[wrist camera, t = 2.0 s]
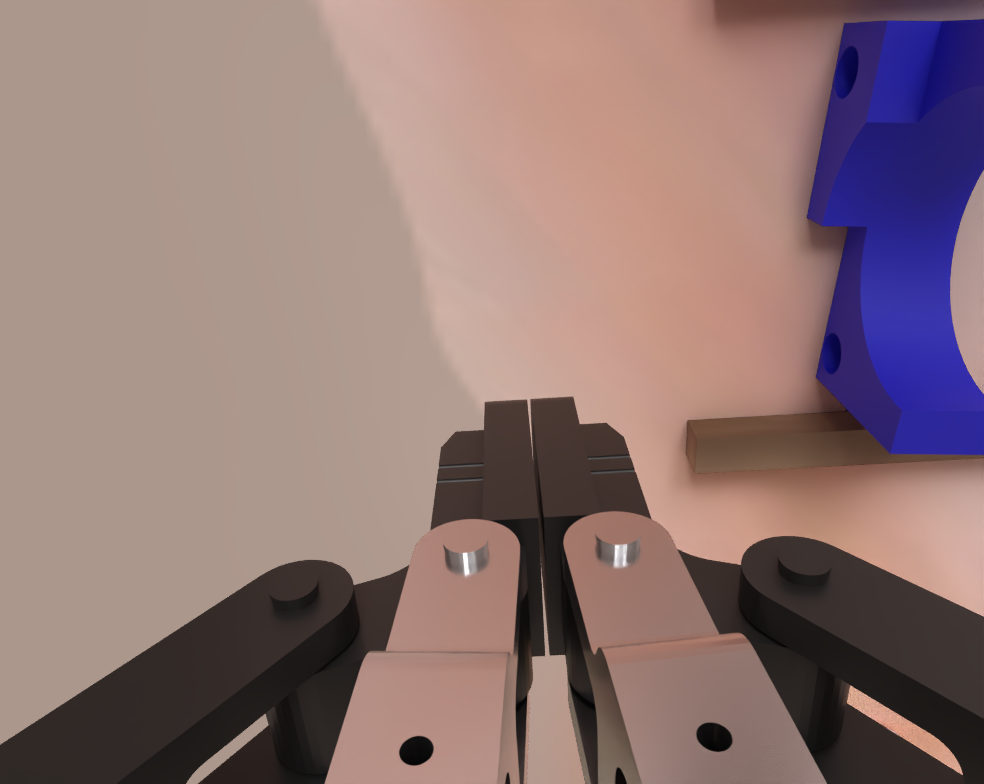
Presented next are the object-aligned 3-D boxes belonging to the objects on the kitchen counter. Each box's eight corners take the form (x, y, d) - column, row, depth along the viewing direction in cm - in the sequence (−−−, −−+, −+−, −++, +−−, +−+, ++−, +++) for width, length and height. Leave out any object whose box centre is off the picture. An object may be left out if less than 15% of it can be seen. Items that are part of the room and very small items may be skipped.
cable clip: (841, 23, 23) (948, 16, 18) (985, 25, 23) (1135, 19, 18) (774, 374, 28) (841, 453, 23) (892, 376, 28) (987, 454, 23)
